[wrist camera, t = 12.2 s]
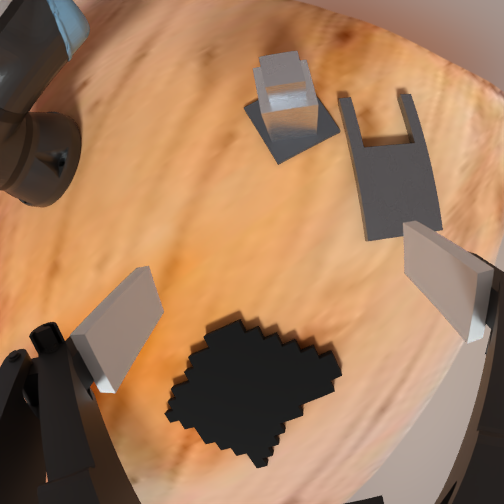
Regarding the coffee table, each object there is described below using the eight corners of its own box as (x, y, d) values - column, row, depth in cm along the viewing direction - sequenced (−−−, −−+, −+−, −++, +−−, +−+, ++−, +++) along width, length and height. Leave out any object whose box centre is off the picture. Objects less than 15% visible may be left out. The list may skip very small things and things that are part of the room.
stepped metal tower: (316, 135, 32) (319, 89, 21) (271, 141, 32) (255, 99, 22) (307, 96, 32) (305, 41, 21) (264, 103, 32) (246, 51, 22)
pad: (244, 109, 33) (243, 107, 33) (303, 80, 32) (302, 77, 32) (278, 164, 33) (277, 163, 32) (339, 132, 32) (340, 130, 31)
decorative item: (209, 477, 35) (135, 364, 36) (212, 471, 36) (141, 360, 37) (367, 431, 31) (302, 291, 32) (365, 425, 32) (302, 289, 34)
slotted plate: (437, 230, 30) (442, 230, 29) (365, 241, 32) (368, 241, 30) (407, 98, 30) (410, 94, 29) (337, 103, 32) (338, 98, 30)
